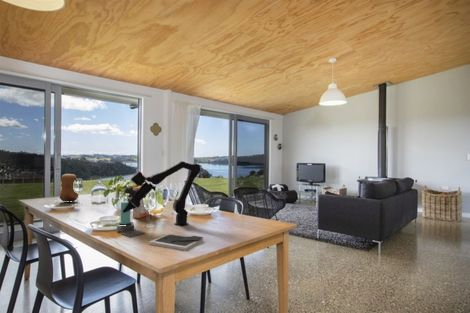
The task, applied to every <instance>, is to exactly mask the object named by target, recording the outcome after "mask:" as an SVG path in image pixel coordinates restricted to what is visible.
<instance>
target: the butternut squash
mask: <svg viewBox="0 0 470 313" xmlns="http://www.w3.org/2000/svg"><path fill="white" fill-rule="evenodd" d="M76 179H77V176H76V174H73V173H65V174H63V175H62V176H61V180H60V181H61V183H60V187H61V189H60V193H59V199H60V200H61V202H64V201H74V202H75V201H77V200H78V199H79V193H78V194H77V193H75V192H74V190H73V182H74V180H76Z"/></svg>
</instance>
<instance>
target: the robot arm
mask: <svg viewBox="0 0 470 313" xmlns="http://www.w3.org/2000/svg"><path fill="white" fill-rule="evenodd" d="M182 169H186V170H188V173H187V178H186V180H185V183H184V185H183V187H182V190H181V192H180V195H179V197H178V198H177V199H176V198H175V199H174V202H173V203H172V209H173V210H174V211H175V214H176V215H175V222H174V225H175V226H178V227H179V226H180V227H183V226H186V225H189V222H188V214H189V212H188V211H187V210H186V209H185V207H186V201H187V198H188V195H189V193H190V190H191V188H192V186H193V184H194V181H195V179H196V177H197V176H198V175H199V173H200V172H201V170H202V169H201V165H199V164H198V163H189V162H188V163H187V162H185V161H179V162H178V163H176V164H174V165H172V166H170V167H169V168H167V169H165V170H162V171H160V172H157V173H154V174H152V175H150V176H146V177H145V176H144V175H143V173H142V172H141V171H137V172H136V173H135V174H134V175H132V176H131V178H130V180H131V181H132V182H133V183H134V184H135V185H136V187H139V186H141V187H140V188H139V189H136V190H134V187H131V186H130V187H128V186H125V188H124V190H123V193H125V194H127V198H126V201H128V205H127V206H126V207H125V209H124V210H123V213H125V212H127V211H129V210H130V211H133V209H134V208H138V207H139V206H140V202H141V200H142V199H143V198H145V197H146V195H147V194H148V193H149V192H150V191H154V192H156V191H157V190H156V188H157V187H156V185H159V184H160V183H162V182H163V181H164V180H165V179H166V178H167V177H170V176H171V175H172V174H174V173H176V172H178V171H180V170H182Z"/></svg>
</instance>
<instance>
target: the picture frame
mask: <svg viewBox="0 0 470 313" xmlns="http://www.w3.org/2000/svg"><path fill="white" fill-rule="evenodd" d="M202 242H204V238H203V236H199V235H198V236H197V235H191V236H189V235H184V234H183V235H180V234H175V233H167V234H164V235H163V236H160V237H157V238H154V239H152V240H150V241H148V243H149V245H151V246H156V247H162V248H168V249H173V250H179V251H183V252H184V251H185V252H187V251H188V250H190V249H191V248H193V247H196V246H197V245H199V244H200V243H202Z"/></svg>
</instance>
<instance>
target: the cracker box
mask: <svg viewBox="0 0 470 313" xmlns="http://www.w3.org/2000/svg"><path fill="white" fill-rule="evenodd" d="M141 186H142V185H141ZM141 186H140V185H138V186H135V187H133V189H134V190H136V189H139V188H140V187H141ZM148 214H149V212H148V210H146V209H145V207H144V203H143V199H142V200H141V202H140V206H139V207H138V208H134V209H132V219H133V218H134V219H142V218H144V217H148V216H149V215H148Z"/></svg>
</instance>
